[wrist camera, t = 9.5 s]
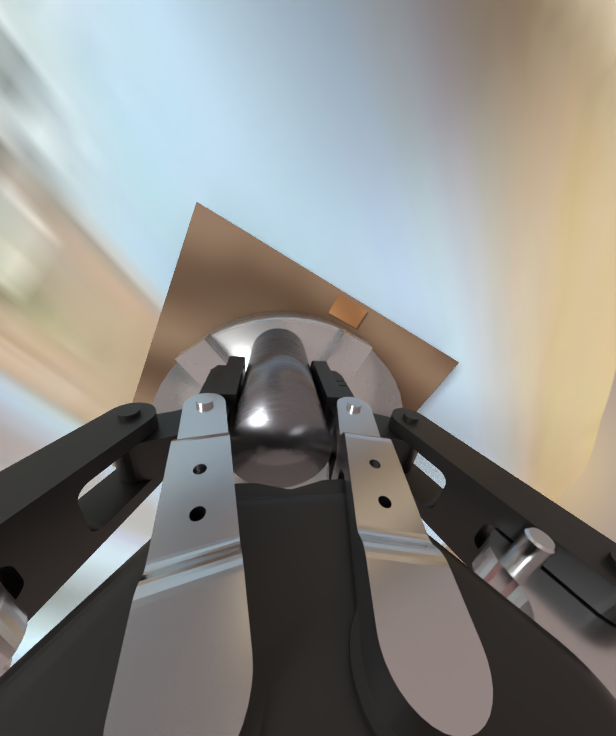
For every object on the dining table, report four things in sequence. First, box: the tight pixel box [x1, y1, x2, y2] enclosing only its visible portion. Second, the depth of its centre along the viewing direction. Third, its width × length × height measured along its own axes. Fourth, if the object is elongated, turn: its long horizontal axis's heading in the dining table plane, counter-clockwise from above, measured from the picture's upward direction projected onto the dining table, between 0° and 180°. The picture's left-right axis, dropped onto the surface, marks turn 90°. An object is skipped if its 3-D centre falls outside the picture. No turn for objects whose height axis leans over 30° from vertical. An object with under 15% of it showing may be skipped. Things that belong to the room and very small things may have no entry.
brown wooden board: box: [113, 202, 459, 467], centre depth 21 cm, size 22×22×2 cm
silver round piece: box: [153, 310, 403, 489], centre depth 15 cm, size 18×18×11 cm
